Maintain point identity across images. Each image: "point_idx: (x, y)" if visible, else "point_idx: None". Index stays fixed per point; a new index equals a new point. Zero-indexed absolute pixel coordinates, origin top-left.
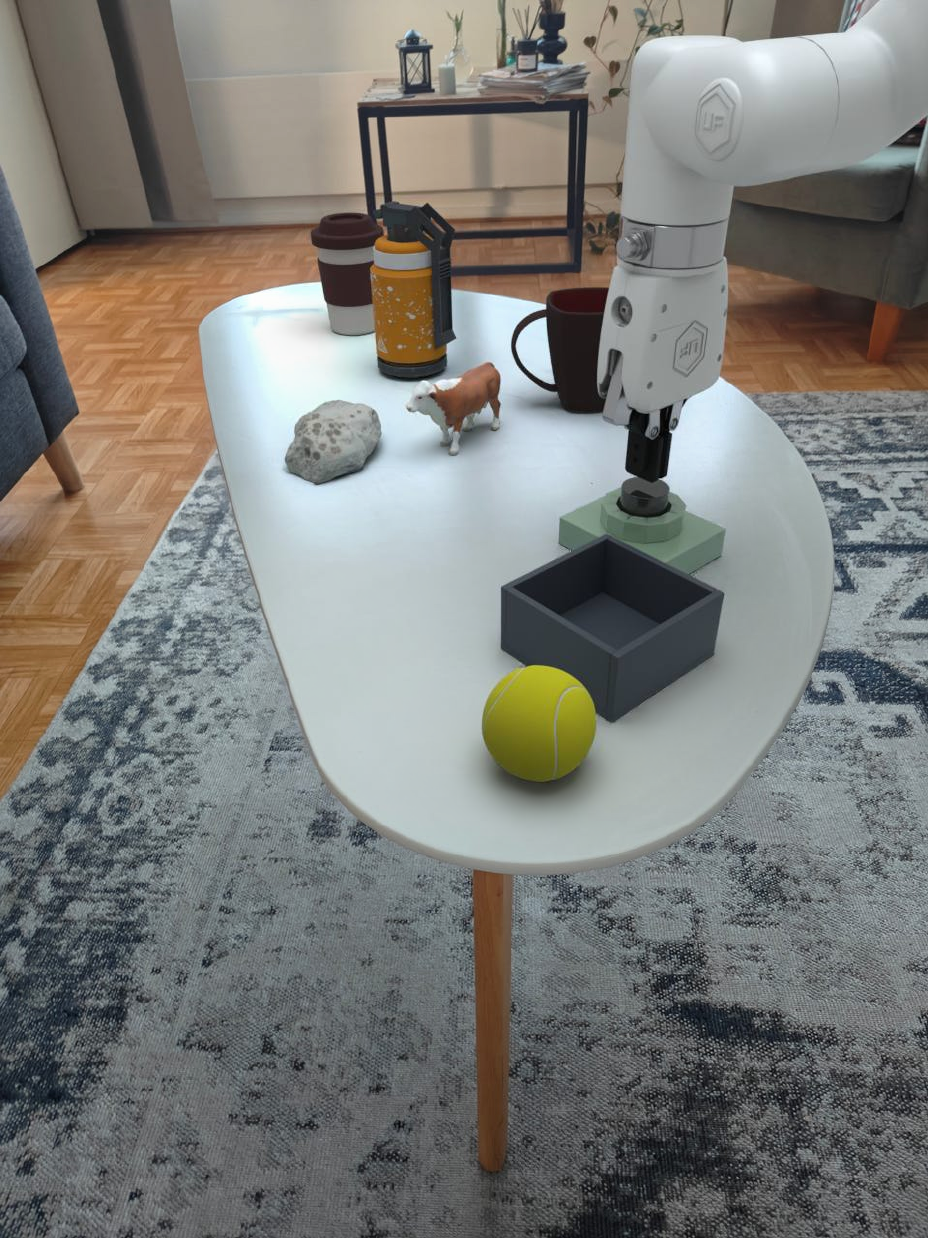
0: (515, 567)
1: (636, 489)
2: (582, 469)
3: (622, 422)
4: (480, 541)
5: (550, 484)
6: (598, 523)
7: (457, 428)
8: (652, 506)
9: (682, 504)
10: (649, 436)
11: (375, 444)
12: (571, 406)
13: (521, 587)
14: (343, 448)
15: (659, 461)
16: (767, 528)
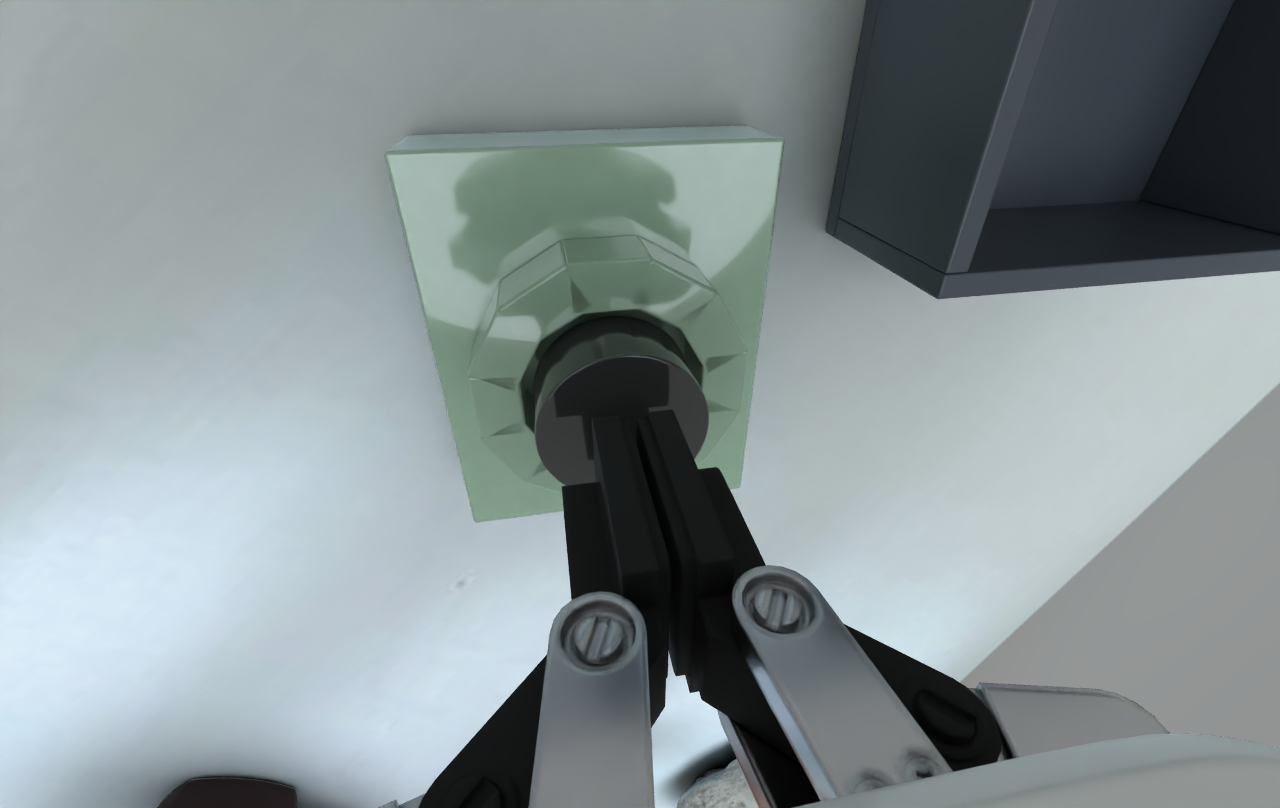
0: (849, 419)
1: None
2: (435, 629)
3: (1057, 702)
4: (812, 517)
5: (543, 610)
6: None
7: None
8: (661, 346)
9: (505, 320)
10: (810, 584)
11: (724, 775)
12: (288, 801)
13: (1272, 242)
14: None
15: (678, 464)
16: (98, 149)
